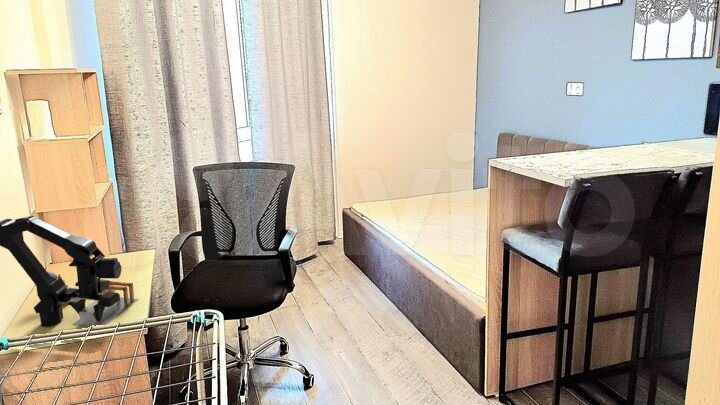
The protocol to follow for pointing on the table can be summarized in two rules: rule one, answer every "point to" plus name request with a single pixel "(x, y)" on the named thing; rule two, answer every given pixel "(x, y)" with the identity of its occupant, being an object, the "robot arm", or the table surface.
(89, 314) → the grey long block
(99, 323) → the board
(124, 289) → the collar
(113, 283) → the angle bracket
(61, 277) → the white faceted ball
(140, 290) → the table surface
